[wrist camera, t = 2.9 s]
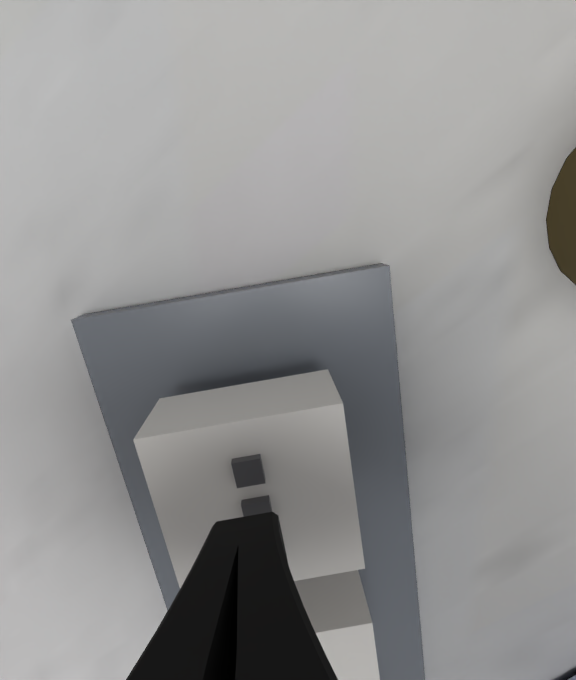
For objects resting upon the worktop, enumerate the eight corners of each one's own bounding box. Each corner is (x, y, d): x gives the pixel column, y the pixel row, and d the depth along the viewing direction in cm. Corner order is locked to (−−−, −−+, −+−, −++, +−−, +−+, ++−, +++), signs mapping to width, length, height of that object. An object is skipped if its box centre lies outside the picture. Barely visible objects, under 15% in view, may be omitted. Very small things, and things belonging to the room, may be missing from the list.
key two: (369, 660, 15) (389, 745, 12) (240, 683, 14) (234, 772, 12) (354, 556, 13) (374, 629, 11) (211, 582, 13) (198, 661, 11)
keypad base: (425, 737, 19) (445, 803, 17) (231, 772, 19) (226, 843, 17) (381, 263, 13) (406, 270, 10) (82, 314, 13) (43, 332, 10)
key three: (347, 509, 13) (366, 575, 10) (198, 535, 13) (182, 607, 10) (327, 369, 11) (344, 406, 9) (159, 398, 11) (130, 444, 9)
